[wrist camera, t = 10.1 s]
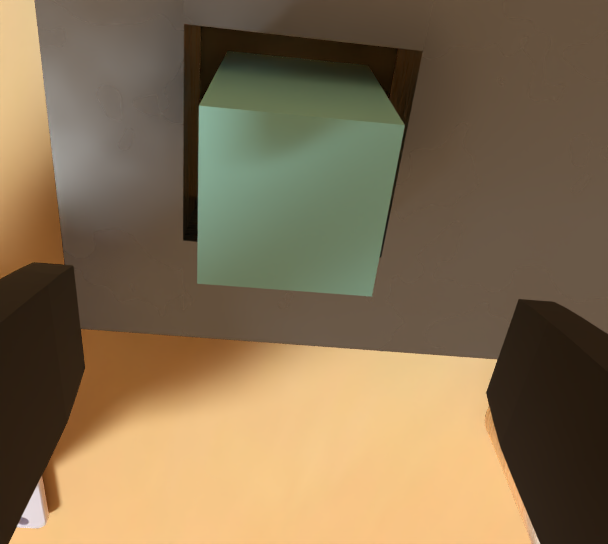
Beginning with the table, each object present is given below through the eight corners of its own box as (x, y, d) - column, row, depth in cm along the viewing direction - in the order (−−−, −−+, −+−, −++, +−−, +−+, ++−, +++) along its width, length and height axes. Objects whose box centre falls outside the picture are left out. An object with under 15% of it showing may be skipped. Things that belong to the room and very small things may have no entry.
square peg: (223, 184, 18) (197, 283, 13) (227, 50, 16) (199, 105, 11) (348, 194, 18) (372, 296, 13) (368, 65, 16) (404, 125, 11)
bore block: (100, 276, 20) (72, 328, 17) (66, -156, 14) (14, -177, 11) (603, 316, 21) (647, 370, 18) (773, -61, 15) (874, -60, 12)
